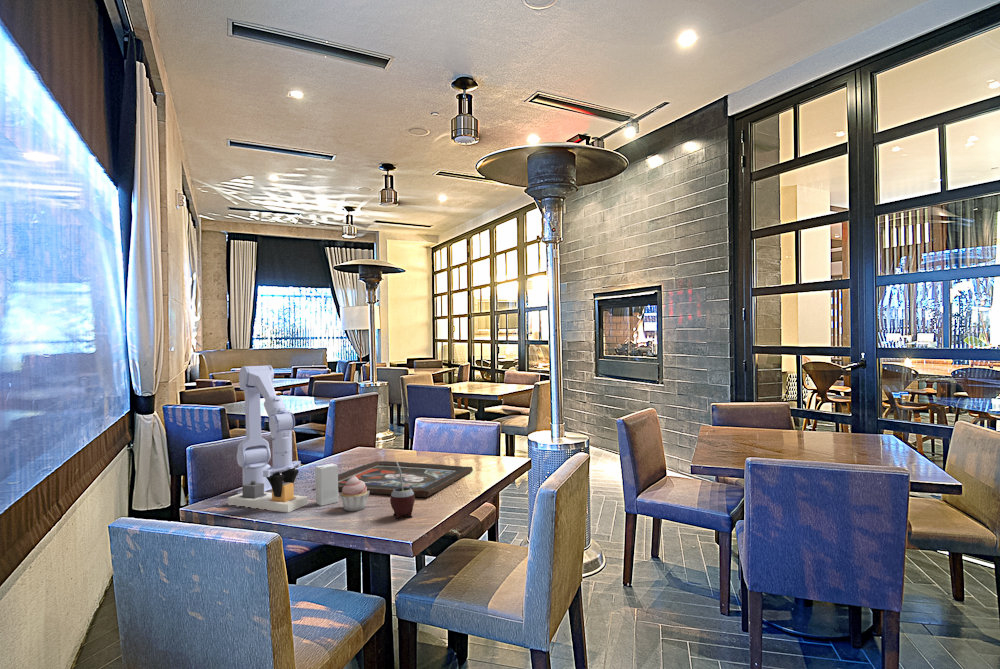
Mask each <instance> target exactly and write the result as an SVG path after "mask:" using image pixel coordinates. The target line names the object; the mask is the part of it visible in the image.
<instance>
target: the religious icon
mask: <svg viewBox="0 0 1000 669" xmlns="http://www.w3.org/2000/svg"><path fill="white" fill-rule="evenodd" d="M396 462H398V464H399V466H400V469H401V473H402V474H401V475H402V483H403V487H408V488H411V489H412V491H413V492H414V496H415V498H416V497H417V498H418V497H419V498H427V497H430V496H431V495H434V494H435V493H437V492H440V491H441V490H443V489H445V488H446V487H448V486H449V485H450V486H453V485H454V486H456V483H455V482H456V481H458V480H460V479H461V478H463V477H465V476H467V475H469V474H470V473H472V472H473V470H474V468H473V466H461V465H447V464H439V463H438V464H437V463H423V462H420V463H419V462H407V461H406V462H404V461H389V460H380V461H379V460H377V461H372V462H370V463H366V464H363V465H360V466H358V467H354V468H352V469H349V470H347V471H344V472H341V473H338V492H342V489H343V487H344V486H345V485H346V482H347V481H348V480H349V479H350V478H352V477H353V476H355V477H357V478H358V479H359V480H361V481H363V482H364V483H365V485H366V487H367V491H369V494H376V495H378V494H379V495H390V496H391V493H392V492H393V490H394V489H396V488H400V487H401V481H400V474H399V469H398V466H397V464H396Z"/></svg>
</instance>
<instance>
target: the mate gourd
mask: <svg viewBox="0 0 1000 669" xmlns="http://www.w3.org/2000/svg"><path fill="white" fill-rule="evenodd" d="M395 462H396V464H397V466H398V469H399V474H400V481H401V487H400V488H396V489H394V490H393V492H392V493H391V495H390V498H389V499H390V500H389V503H390V505H391V508H392V510H393V512H394V513H392V514H393V517H395V520H396V521H399V520H400V519H403V518H407V519H412V518H413V515H412V513H413V509H414V505H415V500H416V499H415V498H416V497H415V496H414V492H413V491H412V489H411V488H408V487H403V483H402V475H401V474H402V473H401V469H400V466H399V464H398V462H399V461H395Z"/></svg>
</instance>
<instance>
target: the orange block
mask: <svg viewBox="0 0 1000 669" xmlns="http://www.w3.org/2000/svg"><path fill="white" fill-rule="evenodd" d="M294 483H295V482H294ZM294 483H291V482H283V483H282V494H281V497H275V496H274V493H273V490H272V489H271V493H272V501H277V502H287V501H289V500H291V499H294V495H295V494H294V490H295V489H294V487H295V486H294Z"/></svg>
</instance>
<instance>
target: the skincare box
mask: <svg viewBox="0 0 1000 669" xmlns="http://www.w3.org/2000/svg"><path fill="white" fill-rule="evenodd" d="M338 467H339V465H337V464H335V463H332V462H331V463H327V464H322V465H315V467H314V474H315V475H314V476H315V478H314V480H315V481H314V482H315V483H314V484H315V503H316V504H317V505H319V506H326V505H327V506H328V505H331V504H335V503H339V491H338V475H339V468H338Z"/></svg>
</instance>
